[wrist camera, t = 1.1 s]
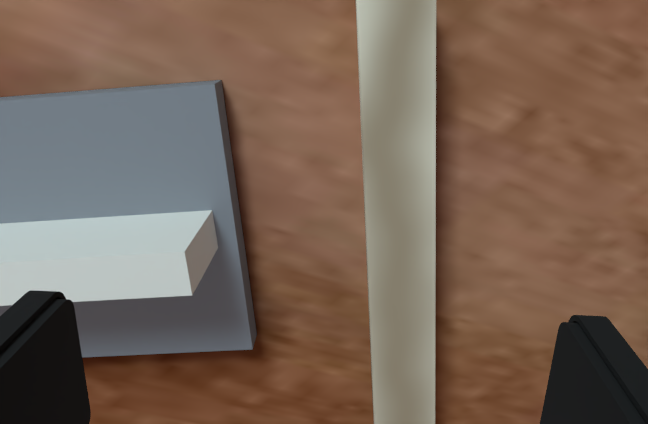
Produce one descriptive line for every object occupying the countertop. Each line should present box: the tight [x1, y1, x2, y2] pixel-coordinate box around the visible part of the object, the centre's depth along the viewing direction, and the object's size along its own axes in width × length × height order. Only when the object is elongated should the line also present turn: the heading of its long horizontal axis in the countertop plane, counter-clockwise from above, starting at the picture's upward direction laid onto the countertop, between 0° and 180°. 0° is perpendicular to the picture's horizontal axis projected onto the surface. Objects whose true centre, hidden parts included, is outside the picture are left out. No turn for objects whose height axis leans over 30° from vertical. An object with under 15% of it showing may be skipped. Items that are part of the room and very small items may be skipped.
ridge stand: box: [0, 80, 257, 357], centre depth 27 cm, size 18×14×6 cm
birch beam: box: [356, 0, 436, 424], centre depth 28 cm, size 3×22×3 cm, turn 4°
